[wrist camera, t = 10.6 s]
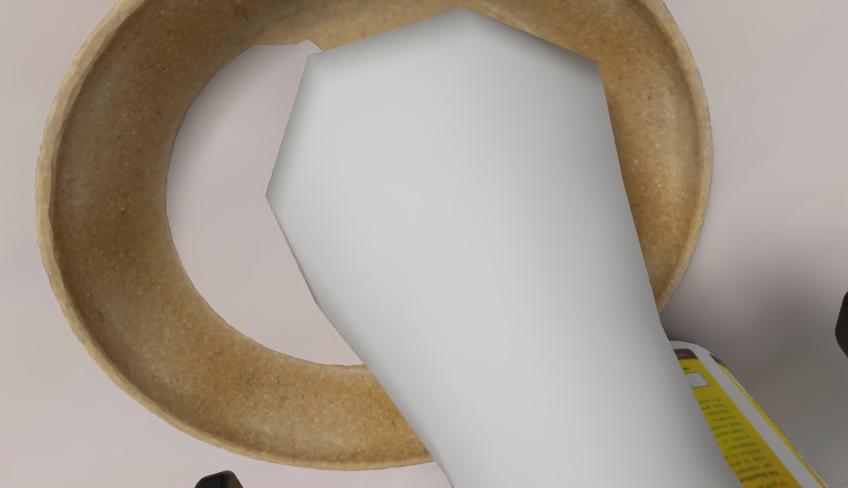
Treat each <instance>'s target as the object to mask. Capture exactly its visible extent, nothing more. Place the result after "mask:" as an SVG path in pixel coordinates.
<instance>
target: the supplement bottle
mask: <svg viewBox="0 0 848 488" xmlns="http://www.w3.org/2000/svg"><path fill="white" fill-rule="evenodd" d="M669 342H670V344H671V346H672V348H673V350H674V353H675V355H676V357H677V359H678V361H679V363H680V365H681V367H682V369H683V371H684V374H685V376H686V378H687V380H688V382H689V384H690V386H691V388H692V390H693V393H694V395H695V397H696V399H697V401H698V403H699V405H700V407H701V409H702V412H703V414H704V416H705V418H706V420H707V422H708V424H709V426H710V428H711V430H712V433H713V435H714V437H715V439H716V441H717V443H718V445H719V447H720V449H721V452H722V454H723V456H724V458H725V460H726V462H727V463H728V465H729V466H730V468H731V469H732V470H733V472H734V473H735V475H736V476H737V478H738V479H739V481H740V482H741V483H742V485H743V486H744V488H829V487H828V486H827V484H826V483H825V482H824V481H823V480H822V479H821V477H820V476H819V475H818V474H817V473H816V472H815V470H814V469H813V468H812V467H811V466H810V465H809V464H808V462H807V461H806V460H805V459H804V458H803V456H802V455H801V454H800V453H799V452H798V450H797V449H796V448H795V447H794V446H793V444H792V443H791V442H790V441H789V440H788V438H787V437H786V436H785V435H784V434H783V433H782V432H781V430H780V429H779V428H778V427H777V426H776V425H775V423H774V422H773V421H772V420H771V419H770V418H769V416H768V415H767V414H766V413H765V412H764V411H763V409H762V408H761V407H760V406H759V405H758V404H757V403H756V401H755V400H754V399H753V398H752V396H751V395H750V394H749V393H748V392H747V391H746V390H745V389H744V387H743V386H742V385H741V384H740V383H739V382H738V381H737V380H736V378H735V377H734V376H733V375H732V374H731V373H730V371H729V370H728V369H727V368H726V367H725V365H723V364H722V362H721V361H720V360H719V359H718V358H717V357H716V356H715V355H714V354H712V353H711V352H710V351H708V350H706V349H705V348H703V347H701V346H699V345H696V344H692V343H689V342H683V341H669Z"/></svg>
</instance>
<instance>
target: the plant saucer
mask: <svg viewBox="0 0 848 488" xmlns="http://www.w3.org/2000/svg"><path fill="white" fill-rule="evenodd" d="M463 7H467V8H469V9H472V10H474V11H477V12H479V13H482V14H484V15H486V16H489V17H491V18H494V19H496V20H499V21H501V22H503V23H506V24H508V25H511V26H513V27H515V28H518V29H520V30H523V31H525V32H528V33H530V34H532V35H535V36H537V37H540V38H542V39H545V40H547V41H549V42H552V43H554V44H557V45H559V46H561V47H564V48H566V49H569V50H571V51H574V52H576V53H578V54H581V55H583V56H586V57H588V58H590V59H593V60H595V61H597V65H598V69H599V73H600V76H601V80H602V84H603V88H604V92H605V97H606V102H607V106H608V111H609V116H610V121H611V126H612V131H613V135H614V140H615V145H616V150H617V155H618V160H619V164H620V169H621V174H622V179H623V183H624V187H625V190H626V194H627V198H628V202H629V205H630V209H631V213H632V217H633V220H634V224H635V228H636V232H637V235H638V239H639V243H640V247H641V250H642V254H643V258H644V262H645V266H646V269H647V273H648V277H649V281H650V284H651V288H652V292H653V296H654V299H655V303H656V307H657V311H658V314H660V313H661V311H662V310H663V308H664V307H665V306H666V304H667V302H668V301H669V299H670V298H671V296H672V294H673V292H674V291H675V290H676V288H677V286H678V284H679V282H680V280H681V278H682V277H683V275H684V273H685V271H686V269H687V266H688V264H689V262H690V260H691V256H692V253H693V251H694V249H695V247H696V244H697V241H698V238H699V233H700V230H701V227H702V225H703V222H704V216H705V212H706V209H707V205H708V198H709V191H710V185H711V177H712V167H713V148H712V133H711V126H710V115H709V109H708V104H707V98H706V95H705V91H704V88H703V83H702V79H701V76H700V74H699V71H698V69H697V66H696V64H695V61H694V59H693V56H692V54H691V51H690V49H689V47H688V44H687V42H686V40H685V38H684V36H683V34H682V32H681V31H680V29H679V27H678V26H677V24H676V22H675V20H674V18H673V16H672V15H671V13H670V12H669V10H668V8H667V7H666V5H665V4H664V2H663V1H662V0H119V1H118V2H117V3H116V4H115V5H114V7H113V8H112V9H111V10H110V11H109V12H108V14H107V15H106V16H105V17H104V18H103V20H102V21H101V22H100V23H99V25H98V26H97V27H96V28H95V30H94V31H93V32H92V33H91V35H90V36H89V37H88V39H87V40H86V42H85V43H84V44H83V46H82V47H81V49H80V50H79V51H78V53H77V54H76V56H75V58H74V60H73V61H72V63H71V66H70V67H69V69H68V71H67V73H66V75H65V77H64V79H63V81H62V83H61V86H60V88H59V90H58V92H57V95H56V97H55V99H54V101H53V104H52V107H51V110H50V113H49V115H48V118H47V122H46V125H45V129H44V134H43V140H42V144H41V146H40V154H39V157H38V162H37V167H36V183H35V191H36V223H37V236H38V244H39V248H40V252H41V257H42V261H43V264H44V267H45V270H46V272H47V275H48V277H49V280H50V284H51V288H52V290H53V292H54V294H55V297H56V299H57V300H58V302H59V304H60V306H61V309H62V312H63V313H64V315H65V317H66V319H67V320H68V322H69V325H70V327H71V329H72V331H73V333H74V334H75V335H76V337H77V339H78V340H79V341H80V342H81V343H82V344H83V345H84V347H85V348H86V350H87V351H88V353H89V355H90V356H91V357H92V358H93V359H94V360H95V361H96V363H97V364H98V365H99V366H100V367H101V369H102V370H103V371H104V372H105V373H106V374H107V375H108V376H109V377H110V378H111V380H112V381H113V382H114V383H115V384H116V385H117V386H118V387H120V388H121V389H122V390H123V391H124V392H126V393H127V394H128V395H129V396H130V397H132V398H133V399H135V400H136V401H138V402H139V403H140V404H141V405H143V406H144V407H145V408H146V409H147V410H149V411H150V412H152V413H154V414H156V415H157V416H159V417H160V418H162V419H163V420H164V421H166V422H167V423H168V424H170V425H171V426H173V427H175V428H177V429H179V430H180V431H182V432H184V433H186V434H188V435H190V436H192V437H194V438H196V439H199V440H201V441H204V442H206V443H209V444H212V445H214V446H216V447H218V448H223V449H225V450H227V451H229V452H232V453H235V454H238V455H242V456H246V457H249V458H253V459H258V460H263V461H266V462H270V463H277V464H284V465H290V466H296V467H303V468H312V469H318V470H337V471H362V470H379V469H387V468H392V467H404V466H410V465H417V464H422V463H428V462H433V461H435V460H434V458H433V457H432V455H431V454H430V453H429V451H428V450H427V448H426V447H425V446H424V444H423V443H422V442H421V440H420V439H419V437H418V436H417V435H416V433H415V432H414V430H413V429H412V428H411V426H410V425H409V424H408V422H407V421H406V419H405V418H404V417H403V415H402V414H401V412H400V411H399V410H398V408H397V407H396V406H395V404H394V403H393V401H392V400H391V399H390V397H389V396H388V395H387V393H386V392H385V390H384V389H383V388H382V386H381V385H380V383H379V382H378V381H377V379H376V378H375V377H374V375H373V374H372V373H371V372H370V370H369V369H368V368H367V367H366V366H365V364H364V365H352V366H343V365H324V364H318V363H314V362H310V361H306V360H302V359H298V358H294V357H291V356H288V355H285V354H282V353H280V352H277V351H274V350H271V349H268V348H266V347H264V346H263V345H261V344H259V343H257V342H256V341H254V340H252V339H250V338H249V337H247V336H245V335H243V334H242V333H240V332H239V331H238V330H236V329H235V328H233V327H232V326H230V325H229V324H228V323H227V322H226V321H225V320H224V319H223V318H222V317H220V316H219V315H218V314H217V313H216V312H215V311H214V310H213V309H212V308H211V307H210V305H209V304H208V303H207V302H206V301H205V300H204V299H203V297H202V296H201V295H200V294H199V292H198V291H197V290H196V288H195V287H194V285H193V283H192V282H191V280H190V279H189V277H188V275H187V273H186V271H185V270H184V268H183V266H182V263H181V261H180V258H179V256H178V253H177V251H176V248H175V246H174V243H173V240H172V236H171V231H170V227H169V222H168V218H167V214H166V183H167V173H168V168H169V163H170V158H171V153H172V149H173V144H174V141H175V138H176V136H177V133H178V131H179V128H180V126H181V123H182V121H183V119H184V116H185V114H186V111H187V109H188V108H189V107H190V105H191V104H192V103H193V101H194V100H195V99H196V97H197V96H198V95H199V93H200V91H201V90H202V89H203V88H204V87H205V86H206V84H207V83H208V82H209V81H210V80H211V78H212V77H213V76H214V75H215V74H216V72H218V71H219V70H220V69H221V68H223V67H224V66H225V65H226V64H227V63H229V62H230V61H231V60H232V59H234V58H235V57H236V56H237V55H239V54H240V53H242V52H244V51H245V50H247V49H248V48H249V47H250V46H252V45H255V44H297V43H299V42H301V41H303V40H305V39H307V38H308V39H309V40H311V41H312V42H313V43H314V44H315V45H317V46H318V47H319V48H320V49H321V50H323V51H326V50H329V49H333V48H336V47H339V46H342V45H345V44H348V43H352V42H355V41H358V40H361V39H364V38H367V37H371V36H374V35H377V34H380V33H383V32H387V31H390V30H393V29H396V28H399V27H402V26H406V25H409V24H412V23H415V22H418V21H421V20H425V19H428V18H431V17H434V16H437V15H440V14H444V13H447V12H450V11H453V10H456V9H459V8H463Z"/></svg>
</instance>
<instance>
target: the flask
mask: <svg viewBox="0 0 848 488" xmlns="http://www.w3.org/2000/svg"><path fill="white" fill-rule="evenodd" d="M265 196H266V198H267V200H268V202H269V204H270V207H271V209H272V211H273V213H274V215H275V217H276V219H277V221H278V224H279V226H280V228H281V230H282V232H283V234H284V236H285V238H286V241H287V243H288V245H289V247H290V249H291V251H292V253H293V256H294V258H295V260H296V262H297V264H298V266H299V268H300V270H301V273H302V275H303V277H304V279H305V281H306V283H307V285H308V287H309V290H310V292H311V294H312V296H313V298H314V300H315V302H316V304H317V305H318V306H319V308H320V309H321V311H322V312H323V313H324V315H325V316H326V318H327V319H328V320H329V322H330V323H331V324H332V325H333V327H334V328H335V329H336V330H337V331H338V333H339V334H340V335H341V336H342V338H343V339H344V340H345V341H346V342H347V344H348V345H349V346H350V347H351V348H352V350H353V351H354V352H355V353H356V355H357V356H358V357H359V358H360V359H361V361H362V362H363V363H364V364H365V366H366V367H367V368H368V369H369V370H370V372H371V373H372V374H373V375H374V377H375V378H376V379H377V381H378V382H379V383H380V385H381V386H382V388H383V389H384V390H385V392H386V393H387V395H388V396H389V397H390V399H391V400H392V401H393V403H394V404H395V406H396V407H397V408H398V410H399V411H400V412H401V414H402V415H403V417H404V418H405V419H406V421H407V422H408V424H409V425H410V426H411V428H412V429H413V430H414V432H415V433H416V435H417V436H418V437H419V439H420V440H421V442H422V443H423V444H424V446H425V447H426V448H427V450H428V451H429V453H430V454H431V455H432V457H433V458H434V460H435V461H436V462H437V464H438V465H439V466H440V468H441V469H442V471H443V472H444V473H445V475H446V476H447V478H448V480H449V482H450V484H451V486H452V488H744V486H743V485H742V483H741V482H740V481H739V479H738V478H737V476H736V475H735V473H734V472H733V470H732V469H731V468H730V466H729V465H728V463H727V462H726V460H725V458H724V456H723V454H722V452H721V449H720V447H719V445H718V443H717V441H716V439H715V437H714V435H713V433H712V430H711V428H710V426H709V424H708V422H707V420H706V418H705V416H704V414H703V412H702V409H701V407H700V405H699V403H698V401H697V399H696V397H695V395H694V393H693V390H692V388H691V386H690V384H689V382H688V380H687V378H686V376H685V374H684V371H683V369H682V367H681V365H680V363H679V361H678V359H677V357H676V355H675V353H674V350H673V348H672V346H671V344H670V342H669V340H668V338H667V336H666V334H665V331H664V329H663V327H662V325H661V322H660V318H659V314H658V311H657V307H656V303H655V299H654V296H653V292H652V288H651V284H650V281H649V277H648V273H647V269H646V266H645V262H644V258H643V254H642V250H641V247H640V243H639V239H638V235H637V232H636V228H635V224H634V220H633V217H632V213H631V209H630V205H629V202H628V198H627V194H626V190H625V187H624V183H623V179H622V174H621V169H620V164H619V160H618V155H617V150H616V145H615V140H614V135H613V131H612V126H611V121H610V116H609V111H608V106H607V102H606V97H605V92H604V88H603V84H602V80H601V76H600V73H599V69H598V65H597V61H595V60H593V59H590V58H588V57H586V56H583V55H581V54H578V53H576V52H574V51H571V50H569V49H566V48H564V47H561V46H559V45H557V44H554V43H552V42H549V41H547V40H545V39H542V38H540V37H537V36H535V35H532V34H530V33H528V32H525V31H523V30H520V29H518V28H515V27H513V26H511V25H508V24H506V23H503V22H501V21H499V20H496V19H494V18H491V17H489V16H486V15H484V14H482V13H479V12H477V11H474V10H472V9H469V8H467V7H463V8H459V9H456V10H453V11H450V12H447V13H444V14H440V15H437V16H434V17H431V18H428V19H425V20H421V21H418V22H415V23H412V24H409V25H406V26H402V27H399V28H396V29H393V30H390V31H387V32H383V33H380V34H377V35H374V36H371V37H367V38H364V39H361V40H358V41H355V42H352V43H348V44H345V45H342V46H339V47H336V48H333V49H329V50H326V51H323V52H320V53H317V54H314V55H310V56H309V57H308V60H307V63H306V66H305V69H304V73H303V76H302V79H301V82H300V86H299V89H298V92H297V95H296V98H295V102H294V105H293V108H292V111H291V114H290V118H289V121H288V124H287V127H286V131H285V134H284V137H283V140H282V143H281V147H280V150H279V153H278V156H277V159H276V163H275V166H274V169H273V172H272V175H271V179H270V182H269V185H268V188H267V192H266V195H265Z"/></svg>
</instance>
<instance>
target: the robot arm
mask: <svg viewBox="0 0 848 488" xmlns="http://www.w3.org/2000/svg"><path fill="white" fill-rule="evenodd" d="M835 336H836V340H837V342H838V344H839V346H840V348H841V349H842V351H843V352H844V353H845V355H846V356H847V357H848V292H847V293H846V294H845V296H844V298H843V302H842V305H841V309H840V313H839V317H838V320H837V324H836V328H835ZM195 488H243V487H242V485H241V484H240V482H239V480H238V479H237V477H236V475H235V474H234V473H233V472H231V471H223V472H219V473H216V474H212V475H209V476H206V477H204V478H202V479H201V480H200V481H199V482H198V483H197V484H196V486H195Z"/></svg>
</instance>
